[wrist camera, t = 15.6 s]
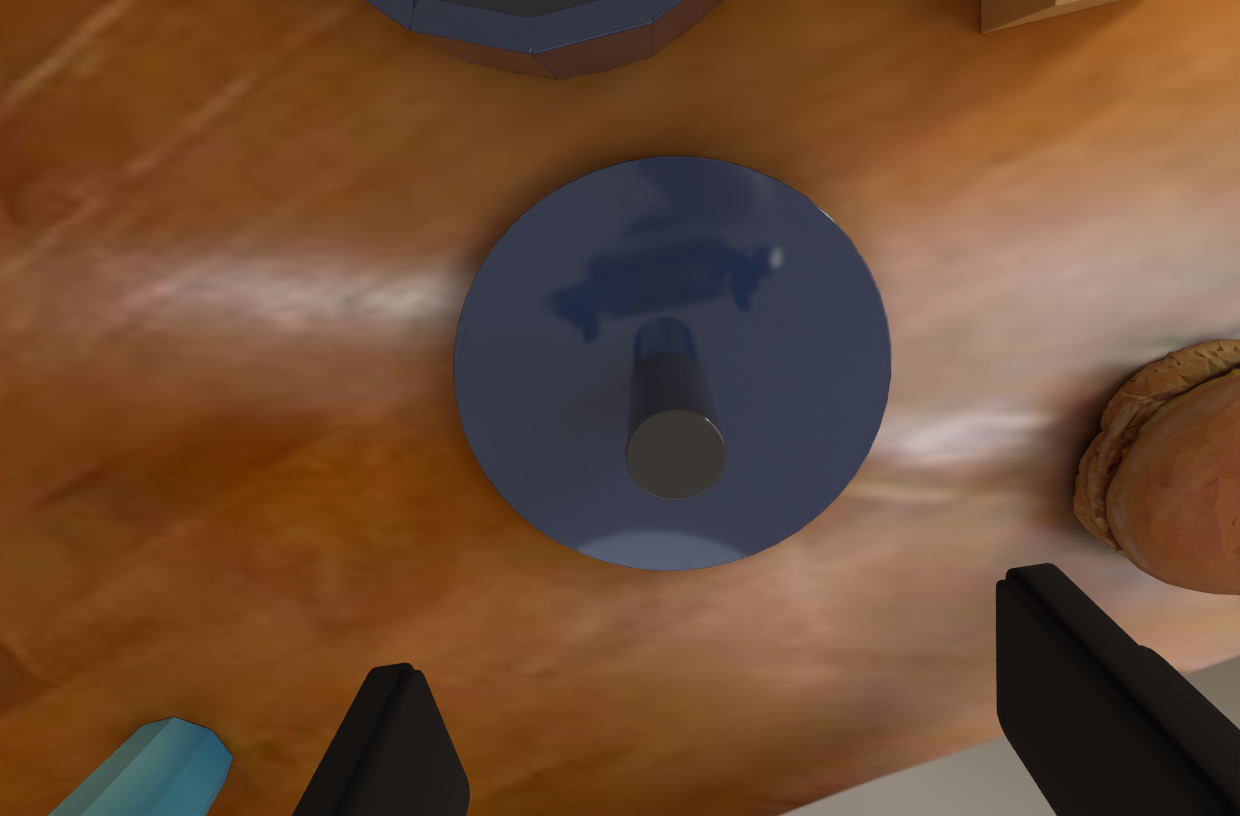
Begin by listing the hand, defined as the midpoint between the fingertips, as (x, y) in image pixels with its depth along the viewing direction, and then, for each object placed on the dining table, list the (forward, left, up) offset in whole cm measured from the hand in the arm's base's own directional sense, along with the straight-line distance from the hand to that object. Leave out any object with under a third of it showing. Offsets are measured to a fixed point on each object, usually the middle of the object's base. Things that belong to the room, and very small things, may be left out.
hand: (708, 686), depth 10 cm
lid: (0, 0, -15) cm, 15 cm away
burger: (-20, +7, -16) cm, 26 cm away
